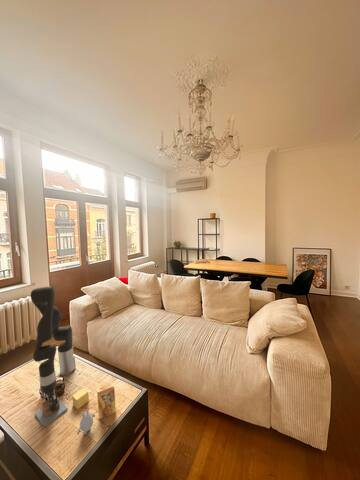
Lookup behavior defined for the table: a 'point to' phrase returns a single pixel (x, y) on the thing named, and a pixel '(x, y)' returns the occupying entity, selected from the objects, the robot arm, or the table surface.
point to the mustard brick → (80, 398)
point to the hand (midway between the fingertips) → (50, 406)
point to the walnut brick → (48, 407)
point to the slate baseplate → (52, 417)
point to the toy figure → (86, 422)
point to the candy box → (106, 400)
